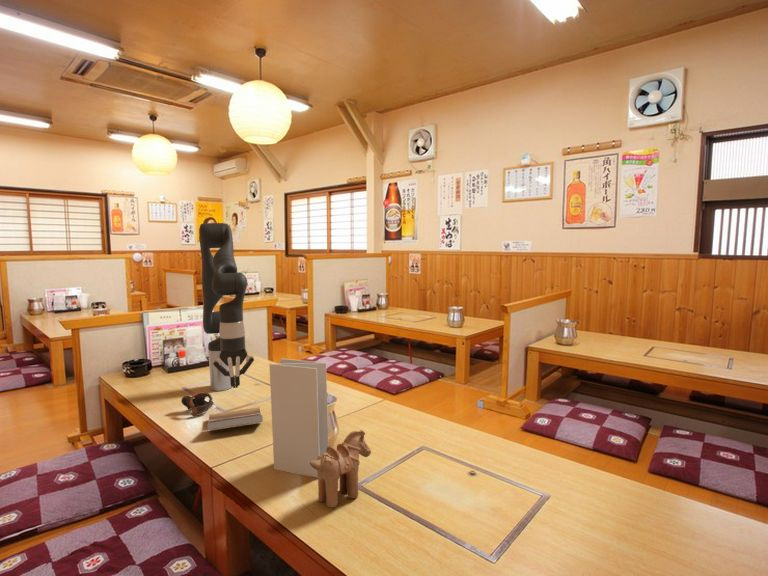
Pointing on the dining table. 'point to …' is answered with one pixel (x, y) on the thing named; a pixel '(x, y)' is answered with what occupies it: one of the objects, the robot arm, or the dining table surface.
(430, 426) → the dining table surface
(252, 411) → the glossy brown slab
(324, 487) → the figurine
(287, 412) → the brochure
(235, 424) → the slate plank
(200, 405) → the pottery mug
